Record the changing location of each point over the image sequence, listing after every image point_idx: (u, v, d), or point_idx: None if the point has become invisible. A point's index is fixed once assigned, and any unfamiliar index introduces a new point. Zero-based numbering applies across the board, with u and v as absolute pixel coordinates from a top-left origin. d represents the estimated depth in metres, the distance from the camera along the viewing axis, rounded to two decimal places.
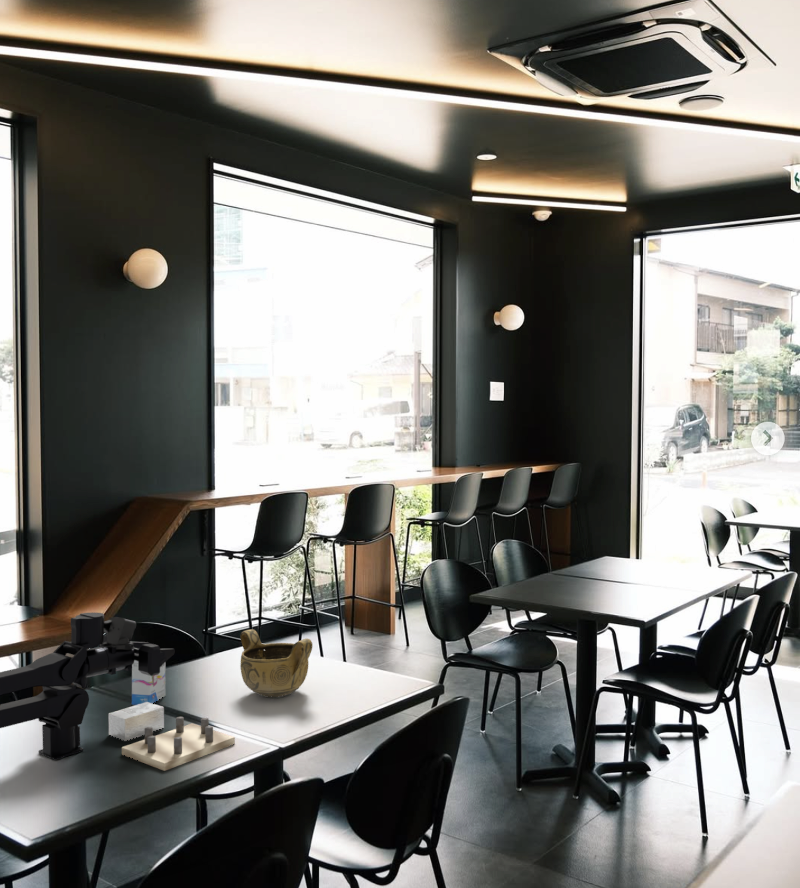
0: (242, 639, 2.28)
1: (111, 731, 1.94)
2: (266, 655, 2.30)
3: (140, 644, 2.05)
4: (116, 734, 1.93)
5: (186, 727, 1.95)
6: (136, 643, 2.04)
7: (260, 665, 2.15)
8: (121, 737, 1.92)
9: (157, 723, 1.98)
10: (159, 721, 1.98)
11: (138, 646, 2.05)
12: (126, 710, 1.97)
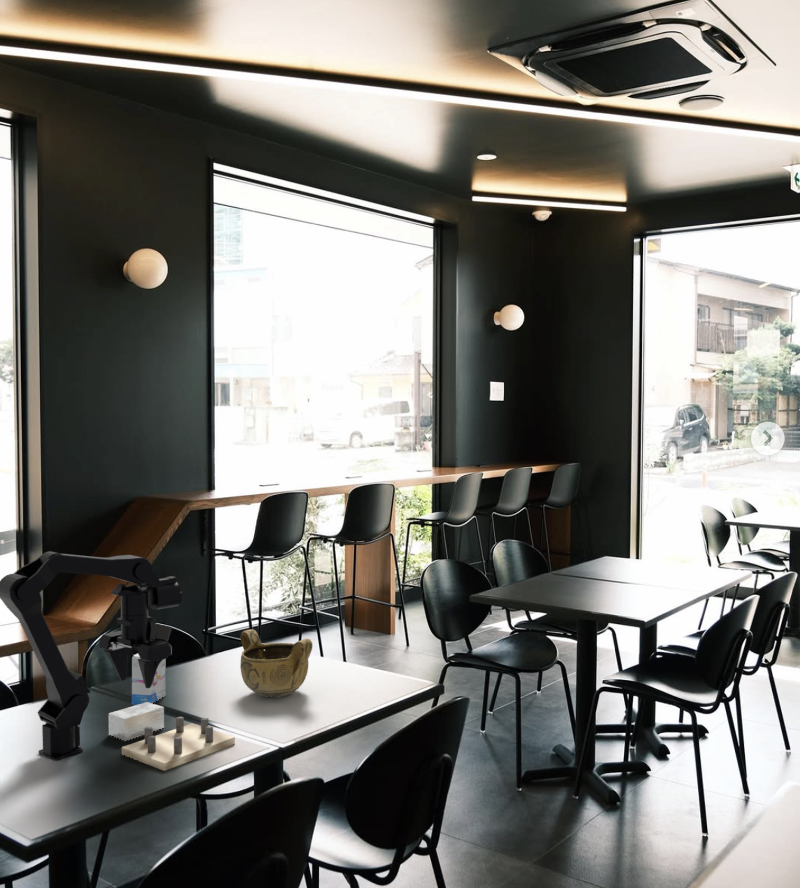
0: (242, 639, 2.28)
1: (111, 730, 1.94)
2: (266, 655, 2.30)
3: (125, 669, 2.00)
4: (116, 734, 1.93)
5: (186, 727, 1.95)
6: (126, 664, 2.00)
7: (260, 665, 2.15)
8: (121, 737, 1.92)
9: (157, 723, 1.98)
10: (159, 721, 1.98)
11: (123, 667, 1.99)
12: (126, 709, 1.97)
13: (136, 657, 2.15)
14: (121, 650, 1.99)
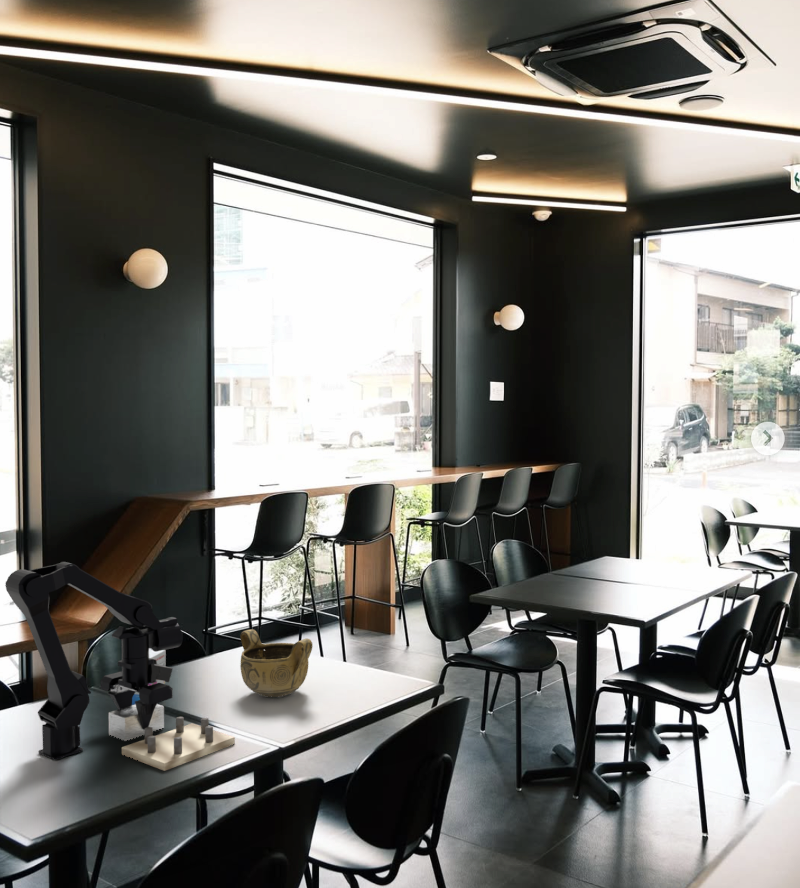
0: (242, 639, 2.28)
1: (111, 730, 1.94)
2: (266, 655, 2.30)
3: None
4: (116, 733, 1.93)
5: (186, 727, 1.95)
6: None
7: (260, 665, 2.15)
8: (121, 736, 1.92)
9: (157, 722, 1.98)
10: (159, 720, 1.98)
11: None
12: (126, 709, 1.97)
13: None
14: (126, 693, 1.99)
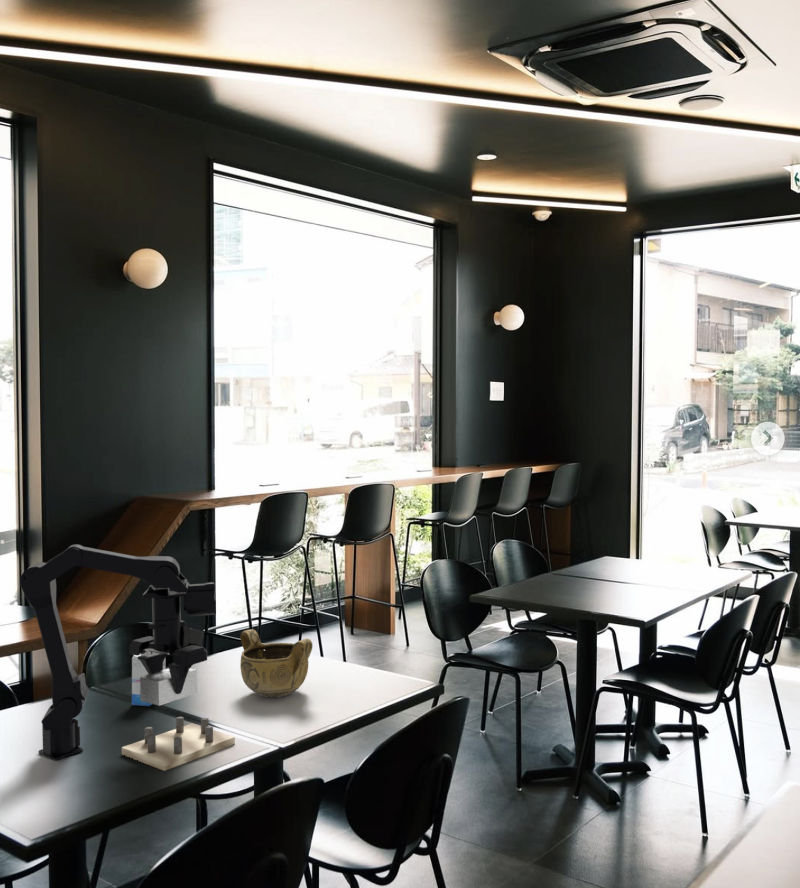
0: (242, 639, 2.28)
1: (143, 694, 1.86)
2: (266, 655, 2.30)
3: None
4: (149, 698, 1.85)
5: (186, 727, 1.95)
6: None
7: (260, 665, 2.15)
8: (155, 701, 1.84)
9: (190, 687, 1.90)
10: (192, 684, 1.90)
11: None
12: (157, 673, 1.89)
13: (136, 657, 2.15)
14: (156, 657, 1.91)
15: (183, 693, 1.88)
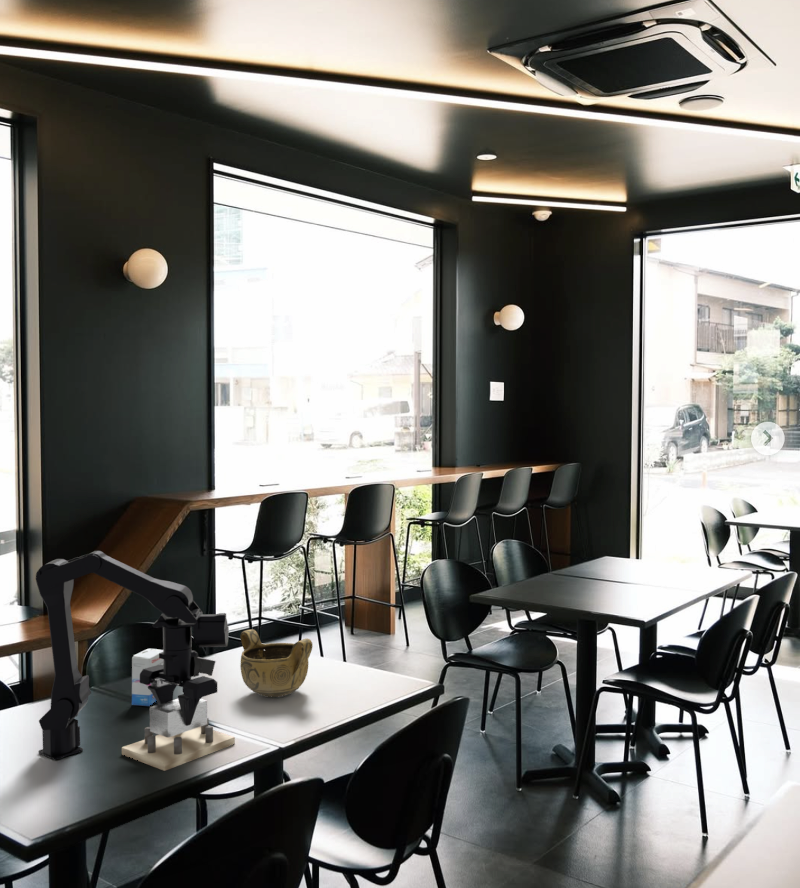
0: (242, 639, 2.28)
1: (152, 725, 1.83)
2: (266, 655, 2.30)
3: None
4: (158, 729, 1.82)
5: None
6: None
7: (260, 665, 2.15)
8: (164, 732, 1.81)
9: (200, 718, 1.87)
10: (202, 715, 1.87)
11: None
12: (167, 703, 1.86)
13: (136, 657, 2.15)
14: (166, 687, 1.88)
15: (193, 724, 1.85)
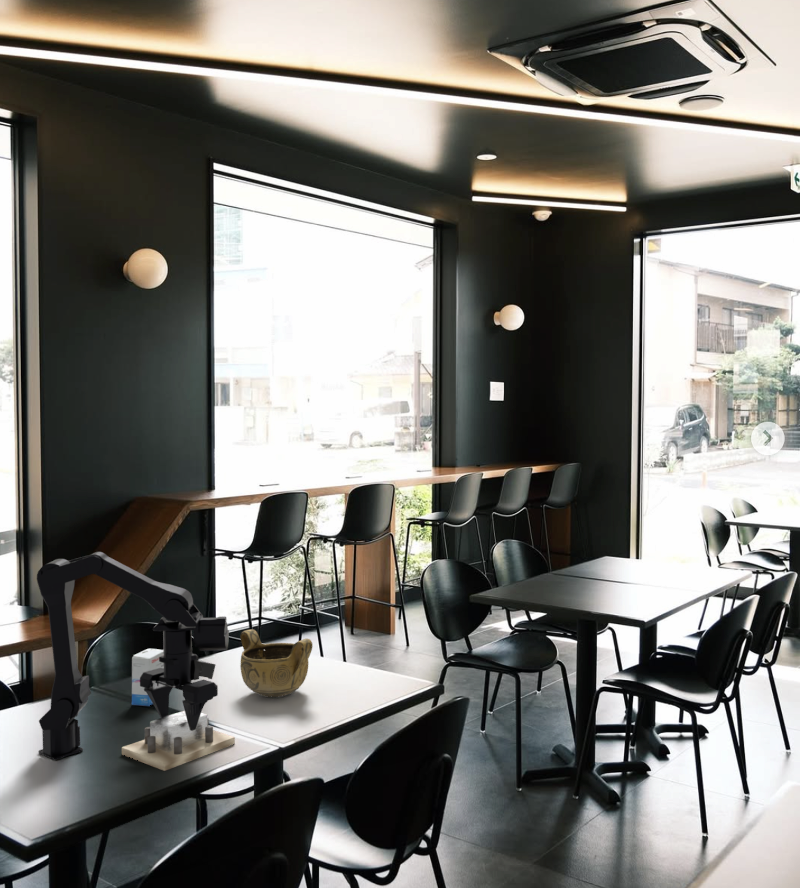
0: (242, 639, 2.28)
1: None
2: (266, 655, 2.30)
3: (167, 708, 1.89)
4: (158, 744, 1.82)
5: None
6: (168, 703, 1.90)
7: (260, 665, 2.15)
8: (164, 747, 1.81)
9: (201, 732, 1.87)
10: (203, 730, 1.87)
11: (165, 707, 1.89)
12: (168, 717, 1.86)
13: (136, 657, 2.15)
14: (162, 689, 1.89)
15: (193, 739, 1.85)
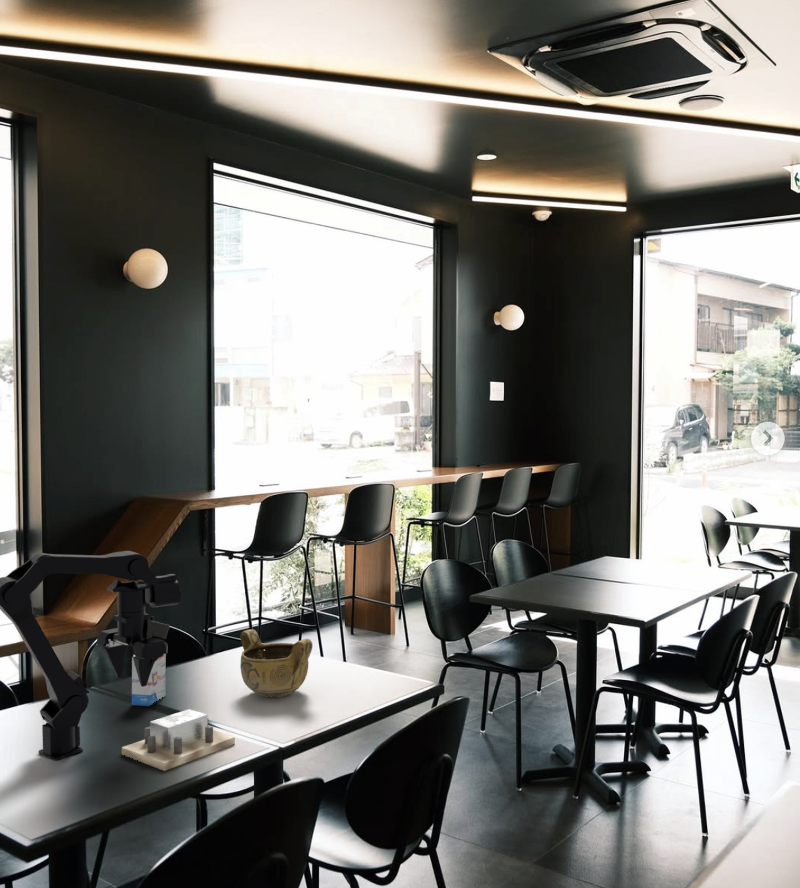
0: (242, 639, 2.28)
1: None
2: (266, 655, 2.30)
3: (122, 666, 1.97)
4: (158, 744, 1.82)
5: None
6: (123, 661, 1.97)
7: (260, 665, 2.15)
8: (164, 747, 1.81)
9: (201, 732, 1.87)
10: (203, 730, 1.87)
11: (120, 664, 1.97)
12: (168, 717, 1.86)
13: None
14: (118, 648, 1.97)
15: (193, 739, 1.85)
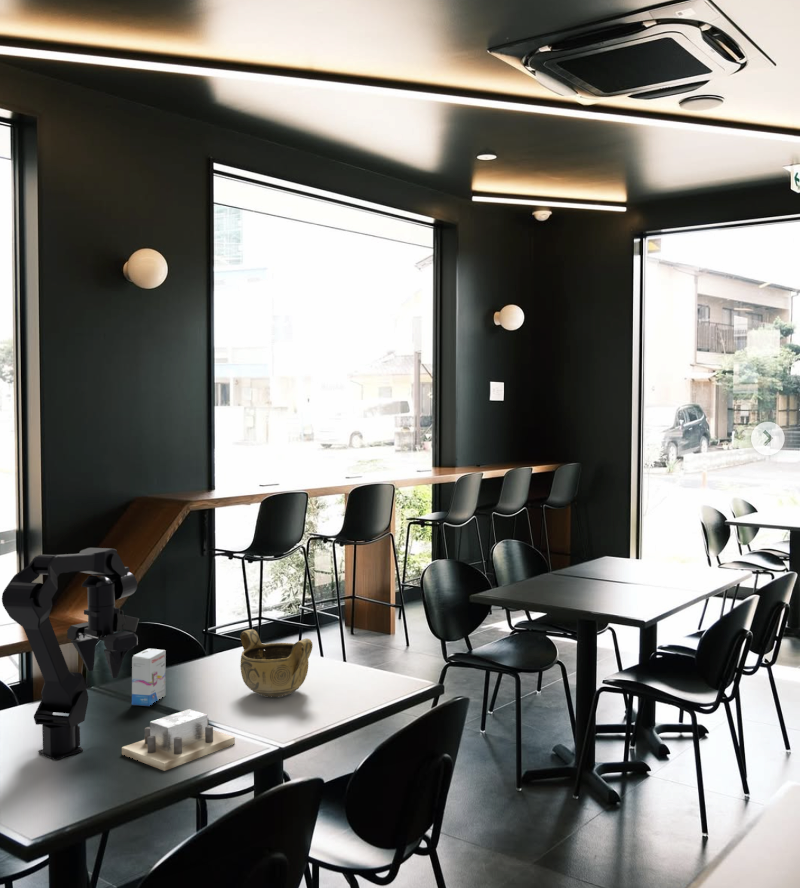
0: (242, 639, 2.28)
1: None
2: (266, 655, 2.30)
3: (92, 659, 2.02)
4: (158, 744, 1.82)
5: None
6: (93, 654, 2.03)
7: (260, 665, 2.15)
8: (164, 747, 1.81)
9: (201, 732, 1.87)
10: (203, 730, 1.87)
11: (91, 657, 2.02)
12: (168, 717, 1.86)
13: (136, 657, 2.15)
14: (88, 641, 2.02)
15: (193, 739, 1.85)
